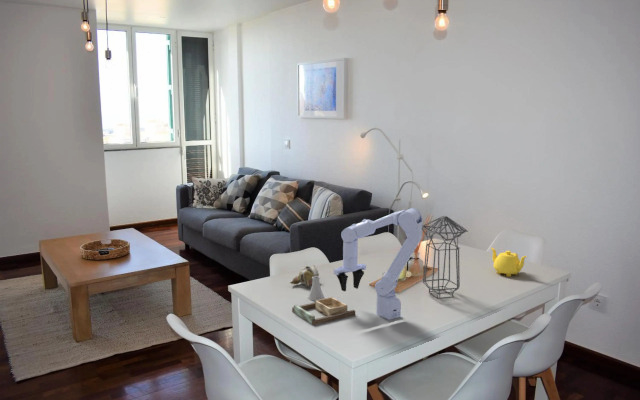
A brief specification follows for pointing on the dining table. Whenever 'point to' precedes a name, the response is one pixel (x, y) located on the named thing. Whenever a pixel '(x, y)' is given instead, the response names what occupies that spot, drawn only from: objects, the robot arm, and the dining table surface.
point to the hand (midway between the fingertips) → (349, 289)
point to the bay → (311, 318)
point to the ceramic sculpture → (306, 276)
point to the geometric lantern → (445, 252)
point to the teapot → (507, 263)
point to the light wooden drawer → (330, 306)
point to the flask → (315, 290)
